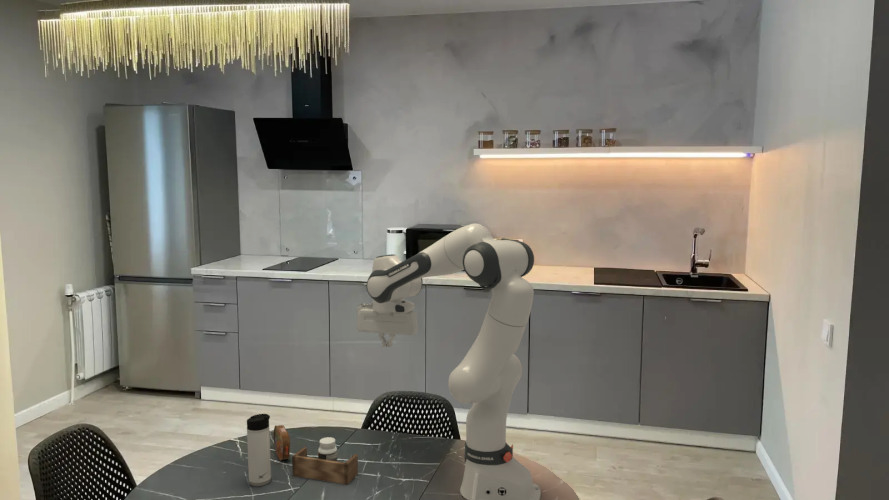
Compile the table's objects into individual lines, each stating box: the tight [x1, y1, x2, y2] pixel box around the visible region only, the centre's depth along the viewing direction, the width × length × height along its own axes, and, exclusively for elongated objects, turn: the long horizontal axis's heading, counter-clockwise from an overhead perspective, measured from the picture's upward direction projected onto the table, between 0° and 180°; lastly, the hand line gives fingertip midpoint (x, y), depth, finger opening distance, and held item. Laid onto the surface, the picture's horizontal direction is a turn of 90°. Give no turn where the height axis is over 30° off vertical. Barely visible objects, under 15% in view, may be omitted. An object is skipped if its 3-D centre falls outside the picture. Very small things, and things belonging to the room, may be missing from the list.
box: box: [291, 446, 359, 486], centre depth 189 cm, size 18×7×6 cm, turn 72°
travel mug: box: [246, 413, 272, 487], centre depth 184 cm, size 6×7×20 cm
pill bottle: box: [317, 436, 338, 462], centre depth 191 cm, size 6×6×10 cm
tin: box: [273, 424, 291, 461], centre depth 203 cm, size 15×3×8 cm, turn 25°
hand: (387, 346), depth 206 cm, fingers closed
